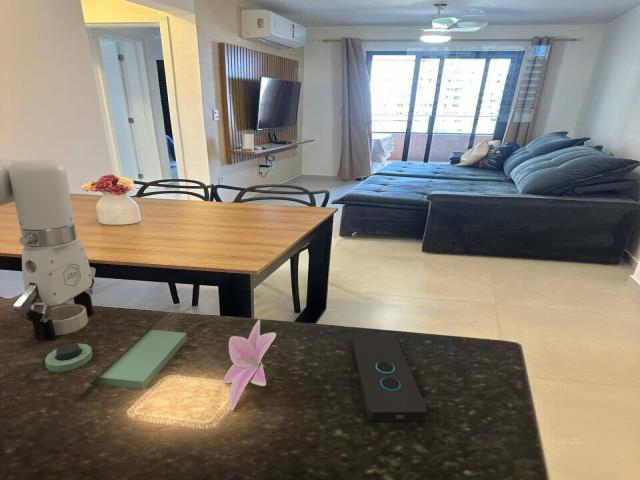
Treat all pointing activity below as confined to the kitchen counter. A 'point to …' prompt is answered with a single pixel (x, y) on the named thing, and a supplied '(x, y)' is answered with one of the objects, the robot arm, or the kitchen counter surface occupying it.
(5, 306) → the kitchen counter surface
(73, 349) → the dark grey puck
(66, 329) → the bowl
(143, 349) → the mint green pieces
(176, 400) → the kitchen counter surface
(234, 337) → the lily
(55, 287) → the robot arm
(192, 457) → the kitchen counter surface
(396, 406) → the smart home device
